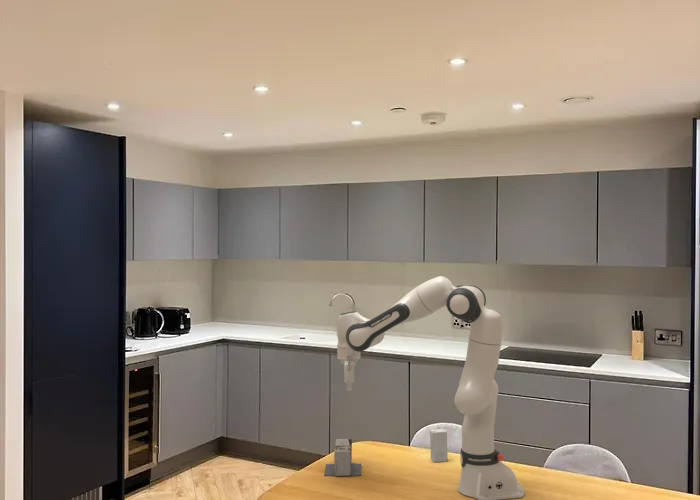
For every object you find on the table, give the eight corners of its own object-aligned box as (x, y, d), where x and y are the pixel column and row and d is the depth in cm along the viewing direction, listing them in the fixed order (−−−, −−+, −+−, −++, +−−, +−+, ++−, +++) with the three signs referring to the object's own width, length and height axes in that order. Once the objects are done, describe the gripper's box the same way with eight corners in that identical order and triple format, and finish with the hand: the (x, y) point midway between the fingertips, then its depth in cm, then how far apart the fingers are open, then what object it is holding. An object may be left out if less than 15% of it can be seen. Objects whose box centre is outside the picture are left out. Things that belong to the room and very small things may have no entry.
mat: (361, 464, 248) (361, 463, 248) (361, 475, 236) (361, 474, 236) (325, 464, 248) (325, 463, 248) (324, 476, 236) (324, 474, 236)
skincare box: (444, 458, 254) (444, 428, 254) (448, 461, 250) (447, 431, 250) (429, 459, 253) (429, 429, 253) (433, 462, 249) (432, 432, 249)
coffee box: (351, 451, 235) (351, 438, 251) (333, 451, 235) (335, 438, 251) (351, 476, 235) (352, 460, 251) (334, 476, 235) (335, 460, 251)
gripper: (357, 358, 230) (358, 396, 230) (356, 349, 250) (357, 384, 250) (340, 358, 230) (340, 396, 230) (340, 349, 250) (341, 384, 250)
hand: (349, 390), depth 240 cm, fingers closed
